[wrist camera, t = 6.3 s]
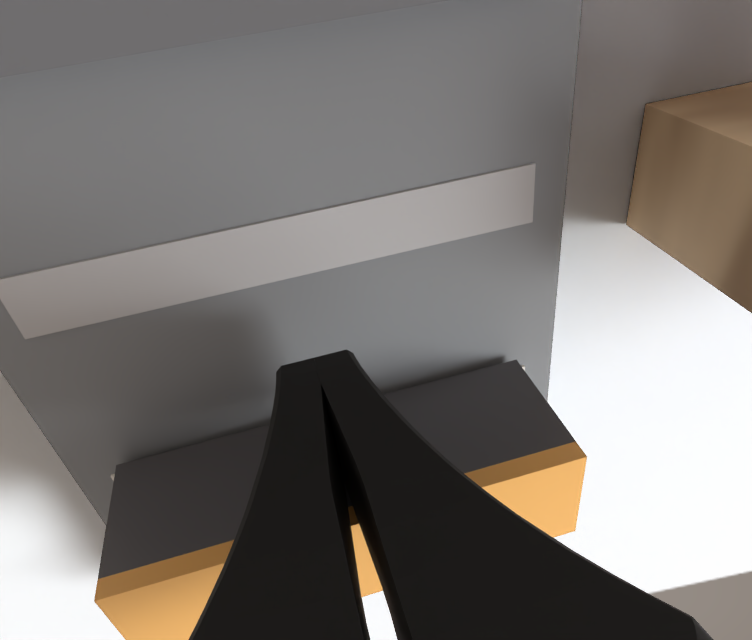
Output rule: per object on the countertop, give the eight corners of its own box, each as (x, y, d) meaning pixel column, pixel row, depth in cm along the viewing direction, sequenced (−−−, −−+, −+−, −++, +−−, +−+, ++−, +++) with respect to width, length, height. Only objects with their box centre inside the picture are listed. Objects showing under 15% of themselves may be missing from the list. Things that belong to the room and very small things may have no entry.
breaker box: (529, -99, 10) (623, -106, 8) (509, 460, 19) (550, 532, 17) (-154, 5, 8) (-282, 33, 6) (174, 556, 17) (170, 649, 15)
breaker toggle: (516, 359, 13) (586, 456, 11) (513, 430, 14) (575, 531, 12) (116, 464, 12) (94, 600, 9) (155, 531, 13) (145, 664, 11)
